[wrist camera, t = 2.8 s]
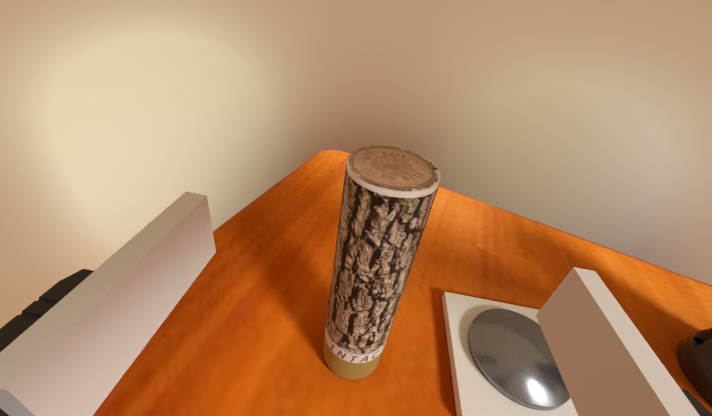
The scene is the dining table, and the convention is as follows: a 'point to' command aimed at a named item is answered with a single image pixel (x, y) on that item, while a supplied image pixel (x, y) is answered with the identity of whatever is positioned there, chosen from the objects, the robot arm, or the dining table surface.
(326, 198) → the dining table surface
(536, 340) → the domed button base
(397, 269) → the paper tube
